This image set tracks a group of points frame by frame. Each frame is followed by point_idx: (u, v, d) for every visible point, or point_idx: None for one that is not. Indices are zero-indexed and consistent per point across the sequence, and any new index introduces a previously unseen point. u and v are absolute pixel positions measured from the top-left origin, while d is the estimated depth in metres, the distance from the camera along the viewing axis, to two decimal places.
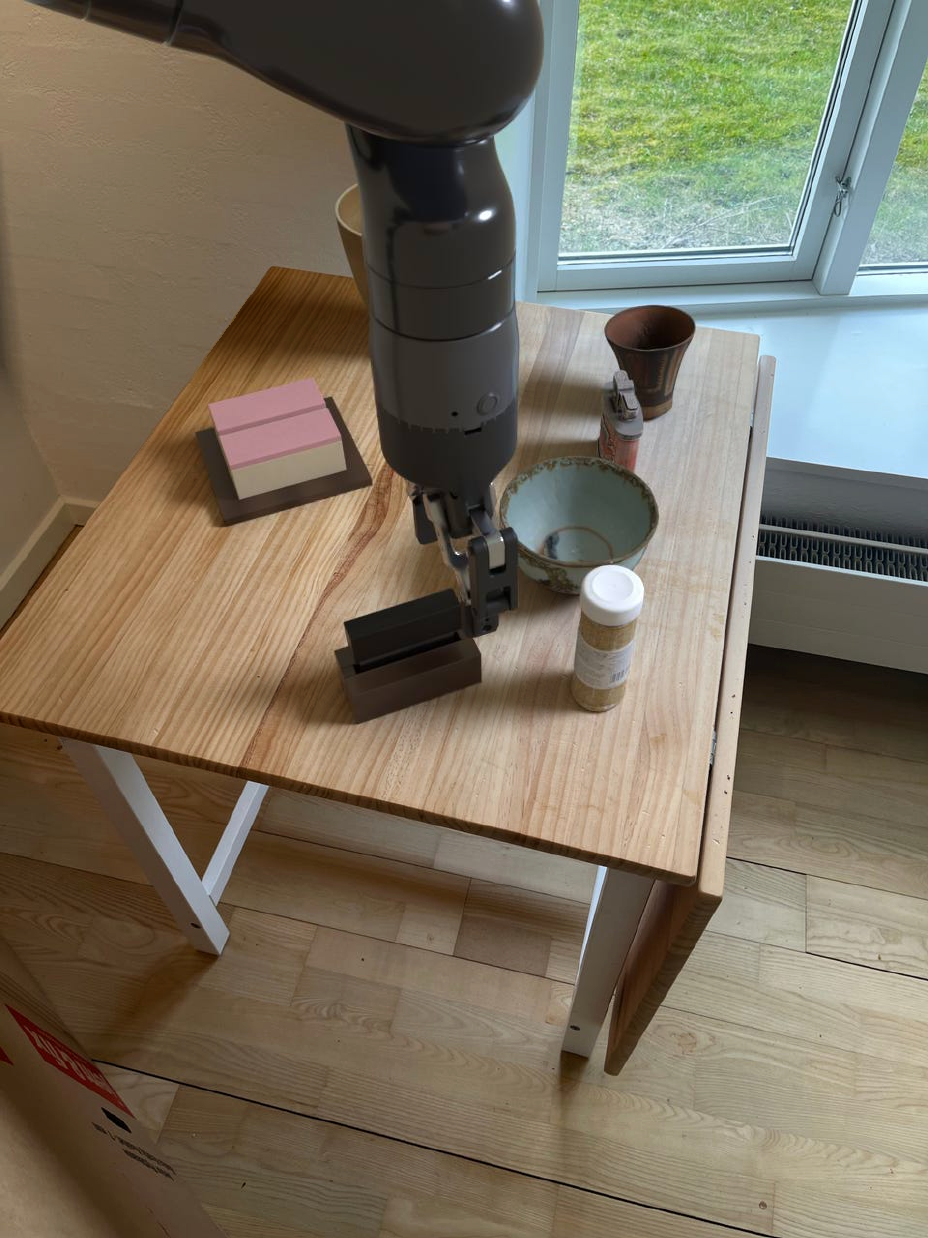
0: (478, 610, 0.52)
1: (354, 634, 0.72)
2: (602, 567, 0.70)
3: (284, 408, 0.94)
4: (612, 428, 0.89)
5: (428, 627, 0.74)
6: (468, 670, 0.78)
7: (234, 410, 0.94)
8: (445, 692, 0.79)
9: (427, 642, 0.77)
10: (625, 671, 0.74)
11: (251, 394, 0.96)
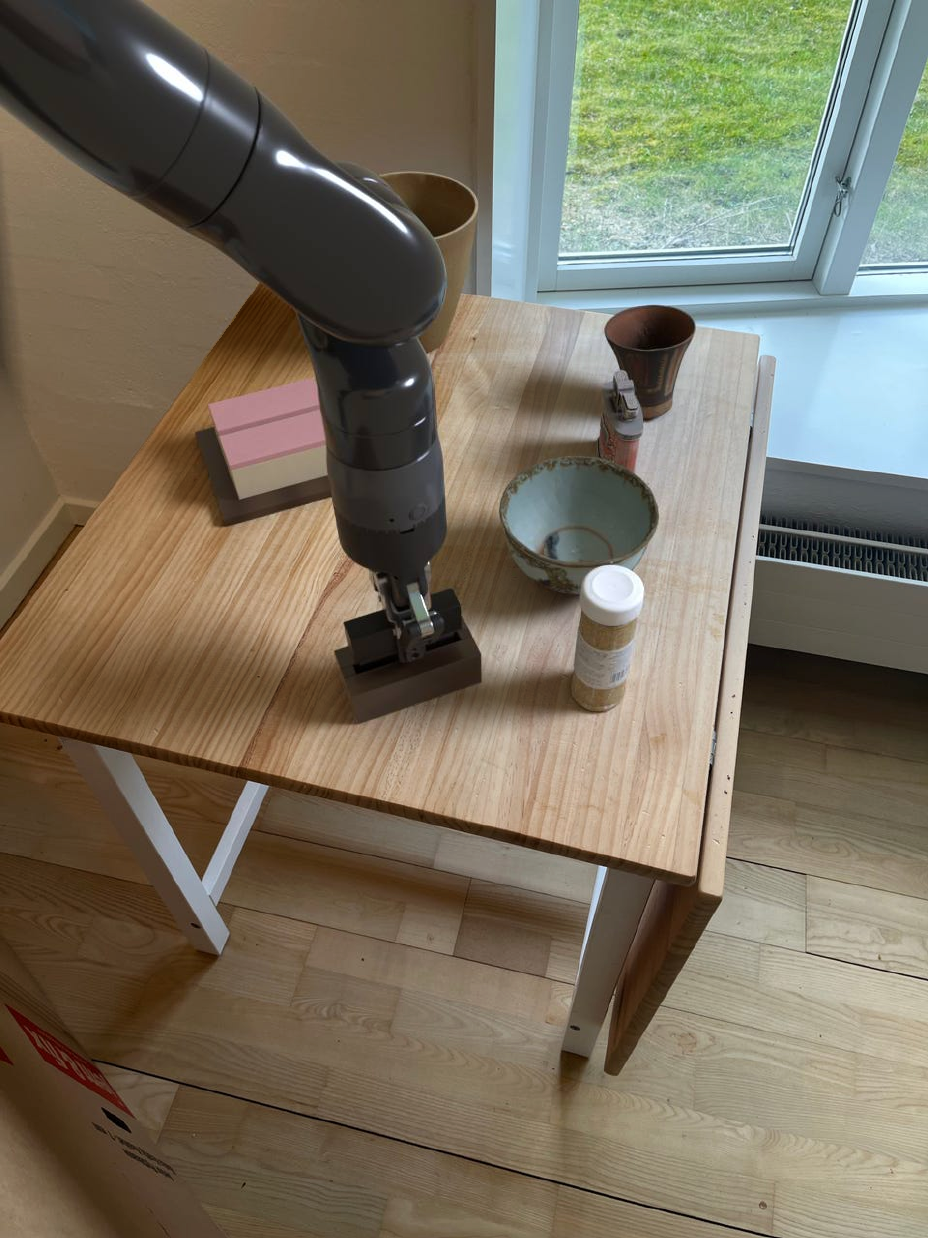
0: (405, 650, 0.69)
1: (354, 634, 0.72)
2: (602, 567, 0.70)
3: (284, 408, 0.94)
4: (612, 428, 0.89)
5: None
6: (468, 670, 0.78)
7: (234, 410, 0.94)
8: (445, 692, 0.79)
9: None
10: (625, 671, 0.74)
11: (251, 394, 0.96)
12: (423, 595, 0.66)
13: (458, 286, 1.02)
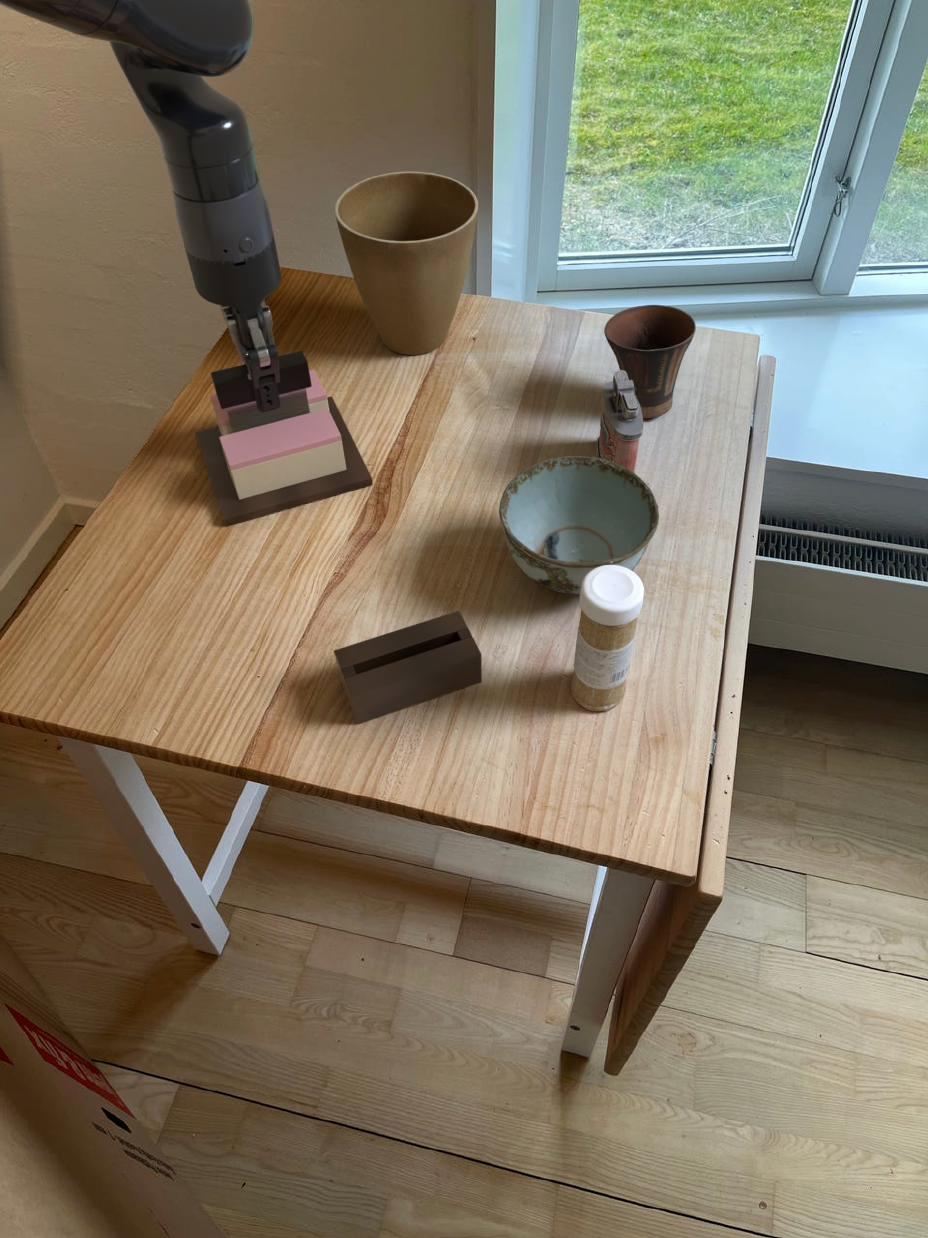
0: (254, 384, 0.86)
1: (218, 379, 0.89)
2: (602, 567, 0.70)
3: None
4: (612, 428, 0.89)
5: (281, 380, 0.91)
6: (468, 670, 0.78)
7: None
8: (445, 692, 0.79)
9: (285, 400, 0.94)
10: (625, 671, 0.74)
11: None
12: (261, 329, 0.83)
13: (458, 286, 1.02)
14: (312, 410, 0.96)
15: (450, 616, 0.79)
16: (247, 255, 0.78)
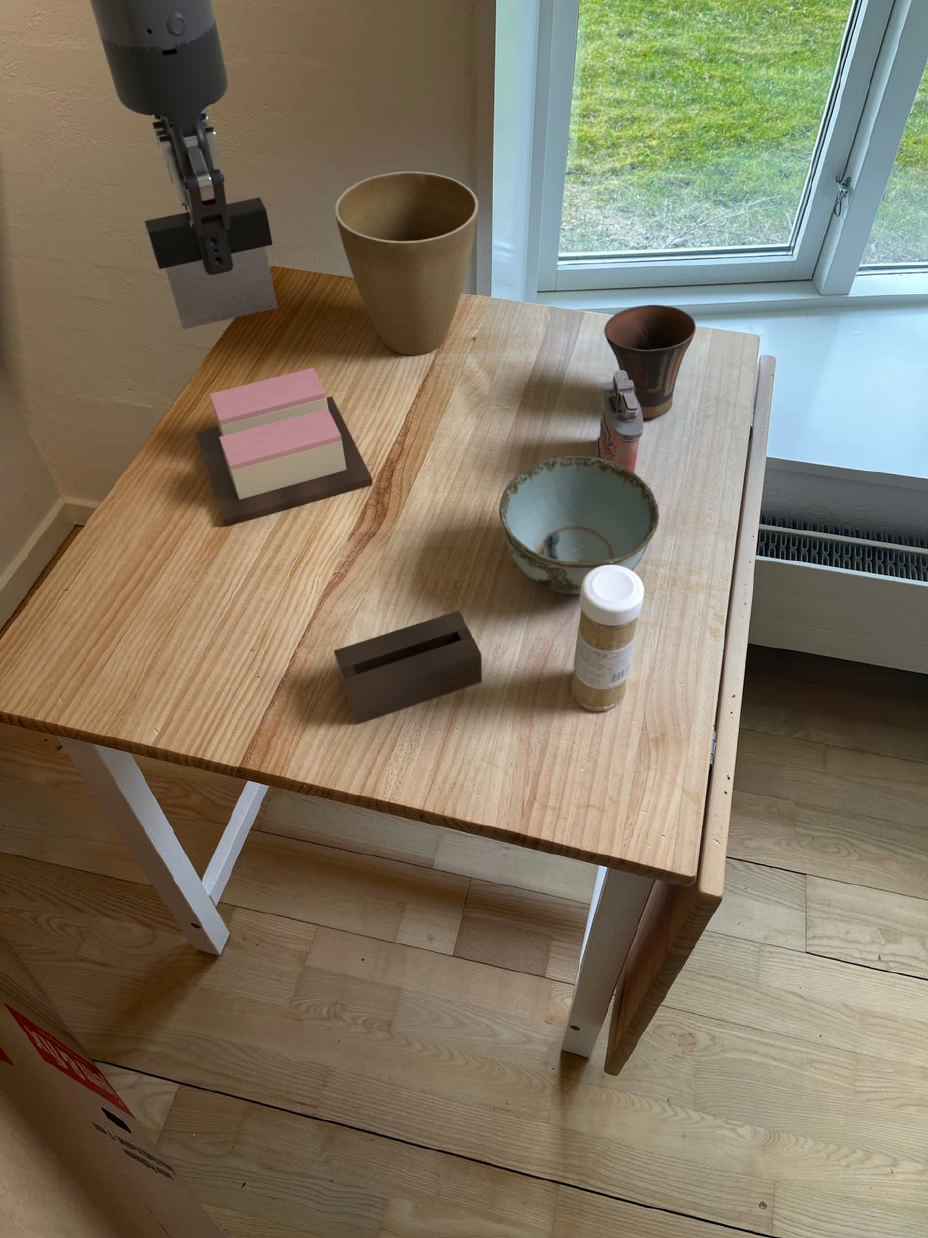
0: (196, 228, 0.68)
1: (153, 228, 0.71)
2: (602, 567, 0.70)
3: (284, 398, 0.95)
4: (612, 428, 0.89)
5: (233, 233, 0.73)
6: (468, 670, 0.78)
7: (235, 399, 0.95)
8: (445, 692, 0.79)
9: (240, 263, 0.76)
10: (625, 671, 0.74)
11: (252, 384, 0.97)
12: (202, 150, 0.65)
13: (458, 286, 1.02)
14: (311, 408, 0.97)
15: (450, 616, 0.79)
16: (179, 40, 0.60)
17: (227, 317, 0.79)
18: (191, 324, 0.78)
